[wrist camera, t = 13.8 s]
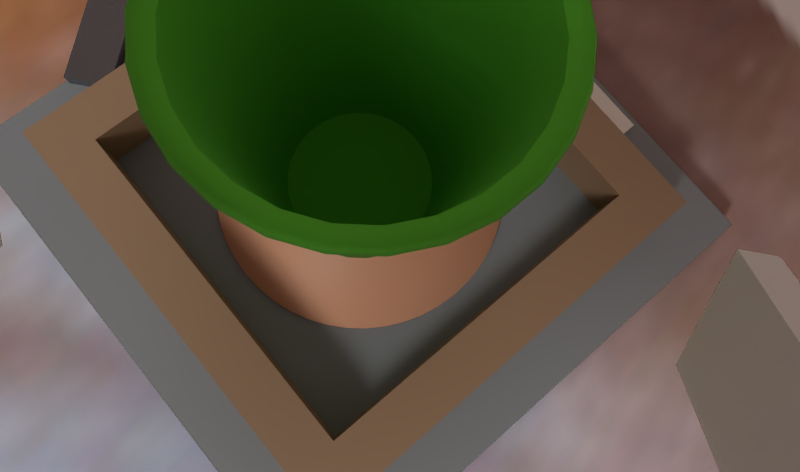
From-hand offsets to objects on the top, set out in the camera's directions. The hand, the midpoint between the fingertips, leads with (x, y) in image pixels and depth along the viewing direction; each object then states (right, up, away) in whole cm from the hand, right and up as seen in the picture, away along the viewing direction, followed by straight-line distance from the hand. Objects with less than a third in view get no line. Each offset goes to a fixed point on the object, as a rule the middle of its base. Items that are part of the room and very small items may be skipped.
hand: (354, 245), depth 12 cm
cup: (-1, +2, +12) cm, 12 cm away
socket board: (-1, +2, +13) cm, 13 cm away
